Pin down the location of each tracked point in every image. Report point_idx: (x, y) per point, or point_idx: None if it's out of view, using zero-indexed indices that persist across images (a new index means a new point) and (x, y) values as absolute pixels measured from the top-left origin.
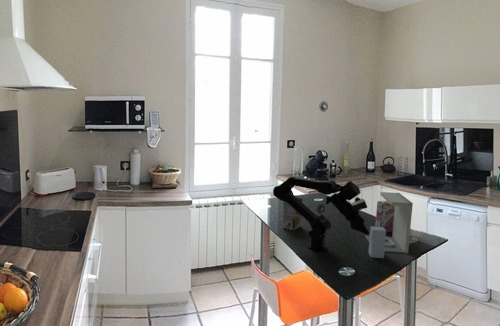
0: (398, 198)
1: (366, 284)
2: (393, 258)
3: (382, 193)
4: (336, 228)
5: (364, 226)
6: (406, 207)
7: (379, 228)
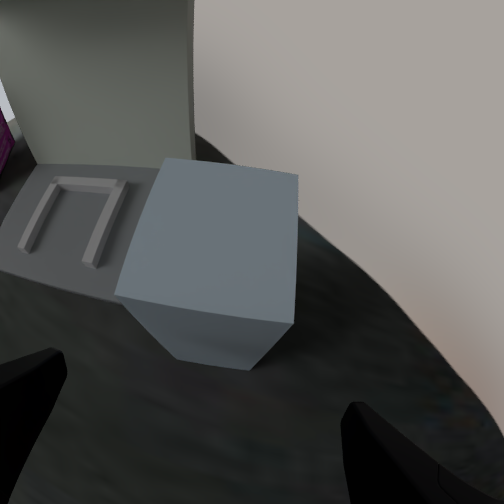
0: None
1: (496, 430)
2: None
3: None
4: None
5: (463, 486)
6: None
7: (215, 208)
